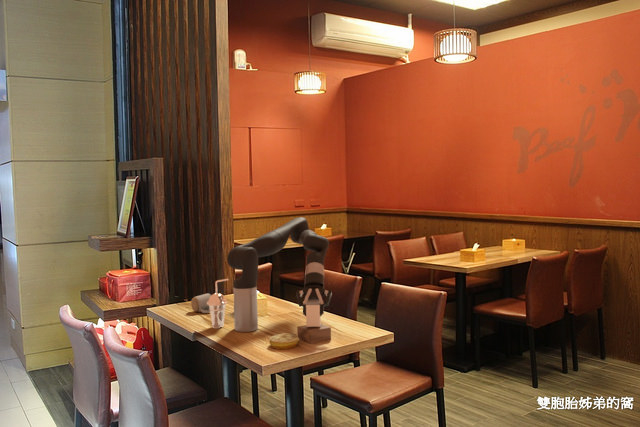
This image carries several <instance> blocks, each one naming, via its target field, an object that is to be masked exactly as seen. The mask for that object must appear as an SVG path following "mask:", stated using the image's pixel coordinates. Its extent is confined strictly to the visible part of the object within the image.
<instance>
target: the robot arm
mask: <svg viewBox="0 0 640 427" xmlns="http://www.w3.org/2000/svg"><path fill="white" fill-rule="evenodd" d="M289 237H290V240H291V242H293V243H294V244H297V245H302V247H303V249H305V250H307V251H308V252H309V253H308V254H307V256H306V263H305V265H306V266H305V272H304V286H303V287H304V288H303V289H302V290H299V289H296V291H295V293H296V294H295V295H296V299H297V304H298V307H302V314H303V315H304V317H306V301H307V300H313V299H319V300H320V316H321V317H322V316H323V315H324V312H325V311H324V310H325V307H329V305H330V302H331V298H332V295H333V293H332V291H333V290H332V289H328V290H327V289H326V288H325V257H326V255H327V251H328V249H329V247H330V242H329V239H328V238H327V237H326V236H323V235H319V234H317V233H316V232H315V231H313V230H311V229H310V227H309V222H308V220H307V218H306V217H302V216H301V217H300V216H299V217H296V218H293V219H291V220H289V221H288V222H285V223H284V224H283V225H281V226H279V227H278V228H276V229H273V230H270V231H268V232H266V233H264V234H263V235H261V236H259V237H256V238H255V239H253V240H251V241H249V242H247V243H244V244H240V245H237V246H234V247H233V248H231V249H229V250H230V251H229V252H228V254H227V257H226V261H227V262H226V263H227V264H228V266H229V267H230V268H232V269H234V270H239V271H240V270H241V271H242V272H241V276H240V277H238V278H235V279H234V280H233V282H232V283H233V286H232V287H233V289H232V290H233V320H234V321H233V323H234V325H233V326H234V330H235V331H236V332H239V333H248V332H249V333H250V332H254V331H257V330H259V322H258V321H259V320H258V318H259V317H258V316H259V314H258V290H257V289H258V288H257V287H258V286H257V282H258V279H259V278H258V277H259V258H263V257H264V258H265V257H268V256H272V255H274V254H276V253H277V252H278V253H279V252H280V251H281V250H283V249H284V248H285V246H286V244H287V243H288V241H289ZM303 295H304V296H305V297H304V300H303V301H302V297H303ZM324 295H325V296H326V297H325V300H323V296H324Z"/></svg>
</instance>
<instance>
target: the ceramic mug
mask: <svg viewBox="0 0 640 427" xmlns="http://www.w3.org/2000/svg"><path fill="white" fill-rule="evenodd" d="M211 295H212V294H211V293H209V292H208V293H204V294H200V295H197V296H194V297H193V298H191V300H190V305H191V308H192V310H193V311H194V312H195V313H200V312H201V313H203V314H206V313H208V314H210V313H209V312H210V310H209V305H207V302H208V301H209V298H210V296H211ZM206 310H207V311H206Z"/></svg>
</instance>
